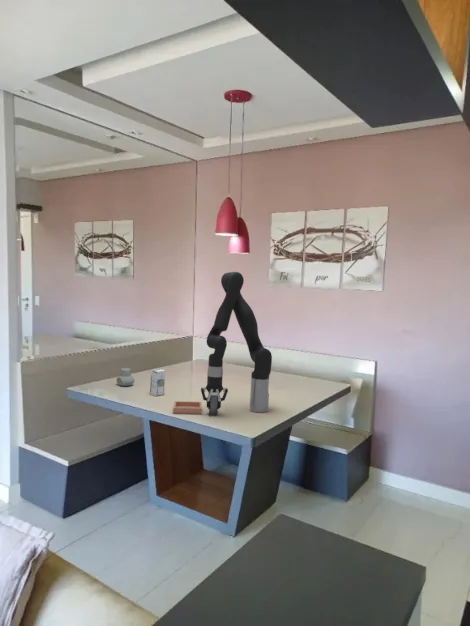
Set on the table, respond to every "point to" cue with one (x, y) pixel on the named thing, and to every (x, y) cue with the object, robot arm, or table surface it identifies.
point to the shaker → (213, 404)
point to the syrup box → (157, 382)
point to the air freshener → (125, 377)
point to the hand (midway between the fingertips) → (213, 408)
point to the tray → (187, 407)
